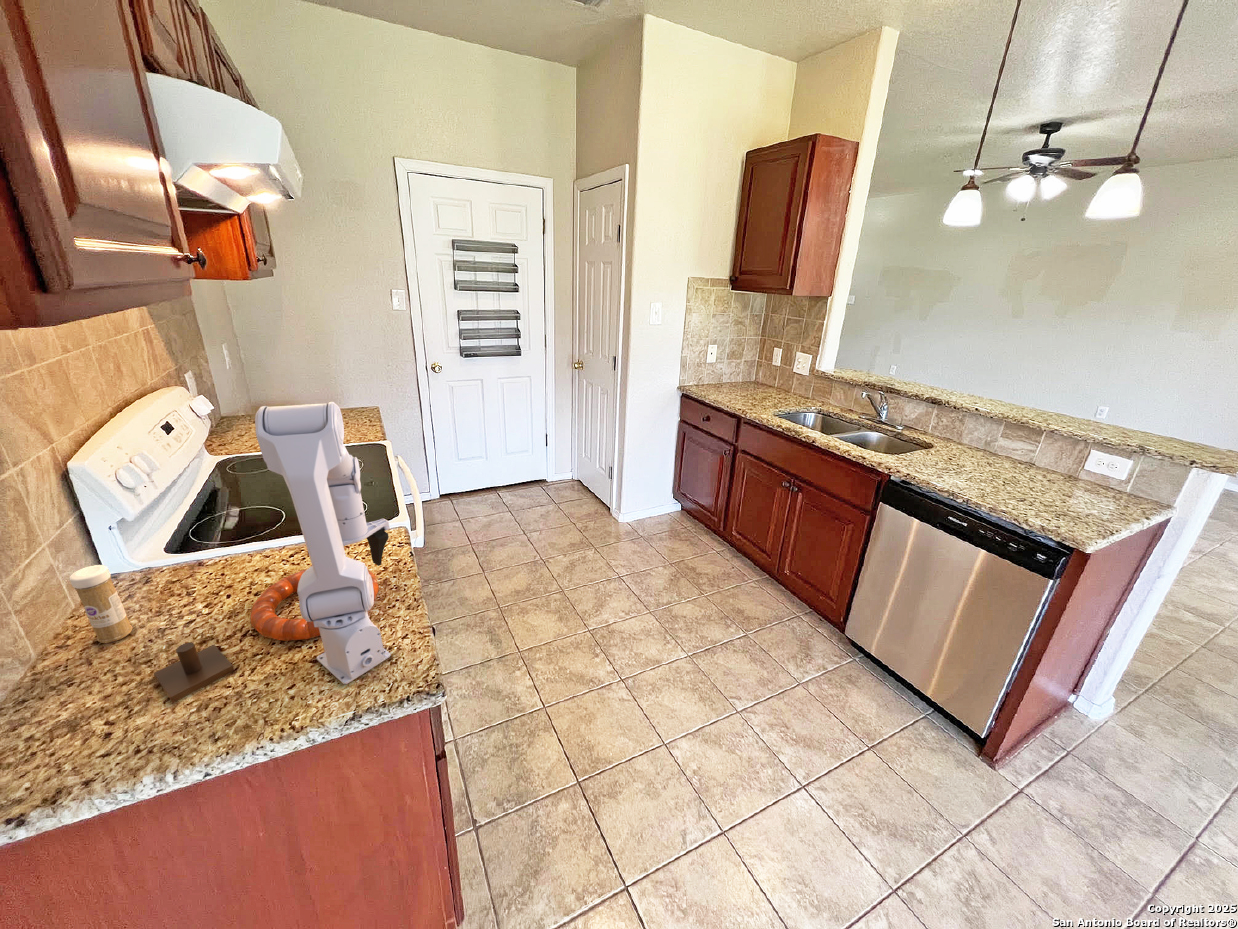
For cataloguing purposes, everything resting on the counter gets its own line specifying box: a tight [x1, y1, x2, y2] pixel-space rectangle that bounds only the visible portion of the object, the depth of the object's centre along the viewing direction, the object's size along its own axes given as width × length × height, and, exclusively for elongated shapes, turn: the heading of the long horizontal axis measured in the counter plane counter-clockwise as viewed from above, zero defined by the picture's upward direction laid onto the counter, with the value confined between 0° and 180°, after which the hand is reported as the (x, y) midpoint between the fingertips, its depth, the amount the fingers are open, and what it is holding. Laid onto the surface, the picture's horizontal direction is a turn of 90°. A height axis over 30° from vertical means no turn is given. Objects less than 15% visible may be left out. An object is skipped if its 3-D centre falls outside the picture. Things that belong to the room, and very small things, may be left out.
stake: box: [153, 641, 235, 704], centre depth 78 cm, size 8×8×6 cm
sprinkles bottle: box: [68, 564, 134, 644], centre depth 84 cm, size 5×5×13 cm
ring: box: [249, 568, 380, 642], centre depth 95 cm, size 21×21×4 cm
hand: (359, 572), depth 101 cm, fingers open, 7 cm apart
